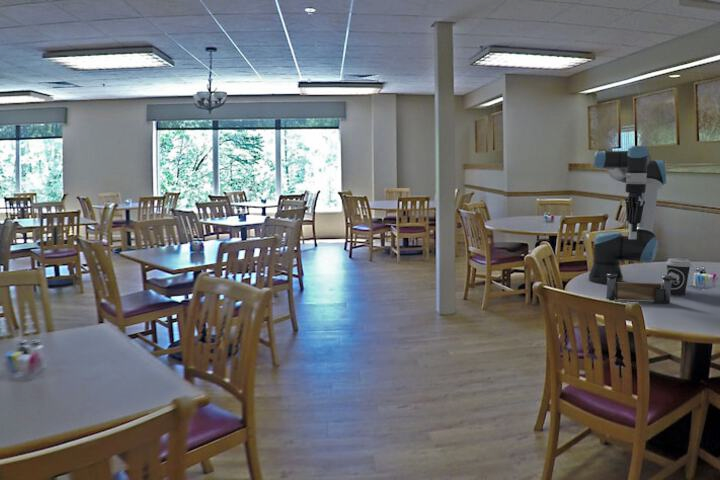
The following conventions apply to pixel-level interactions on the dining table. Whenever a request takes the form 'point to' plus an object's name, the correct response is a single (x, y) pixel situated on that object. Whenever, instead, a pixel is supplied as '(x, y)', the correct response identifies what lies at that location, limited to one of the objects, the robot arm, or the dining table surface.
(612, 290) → the hinge post
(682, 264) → the coffee cup
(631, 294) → the brown wooden board
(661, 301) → the post
